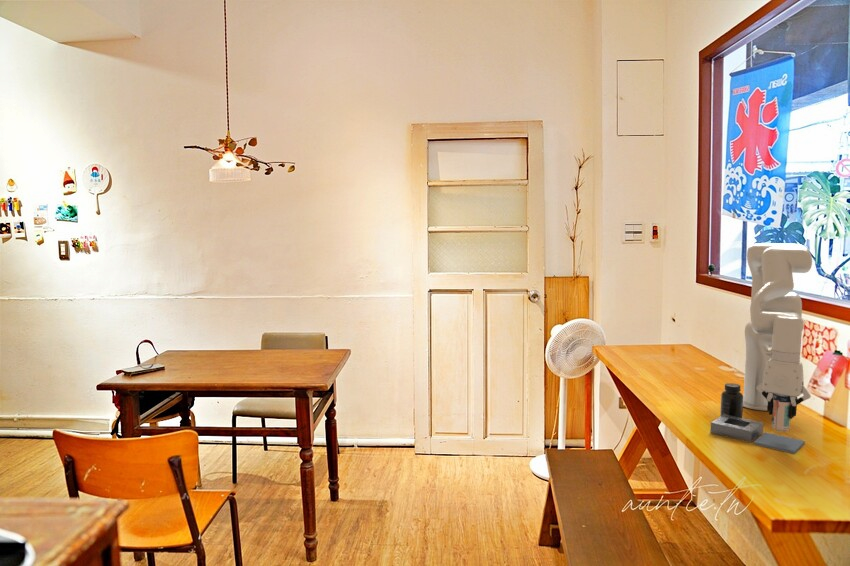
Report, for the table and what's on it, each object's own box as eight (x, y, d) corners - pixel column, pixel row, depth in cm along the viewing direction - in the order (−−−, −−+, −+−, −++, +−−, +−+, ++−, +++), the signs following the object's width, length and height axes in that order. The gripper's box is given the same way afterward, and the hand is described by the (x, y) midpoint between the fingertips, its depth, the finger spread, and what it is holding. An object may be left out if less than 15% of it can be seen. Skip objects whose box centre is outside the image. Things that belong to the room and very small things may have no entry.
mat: (765, 434, 198) (765, 432, 198) (804, 443, 190) (804, 440, 190) (753, 444, 189) (753, 441, 189) (794, 453, 182) (794, 451, 182)
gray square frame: (723, 424, 207) (723, 414, 207) (762, 433, 199) (763, 422, 199) (710, 433, 199) (710, 422, 198) (751, 442, 191) (751, 431, 190)
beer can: (773, 425, 193) (775, 387, 191) (790, 429, 190) (793, 390, 188) (769, 429, 189) (772, 390, 188) (787, 433, 186) (790, 393, 185)
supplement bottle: (730, 415, 218) (732, 381, 216) (746, 421, 211) (749, 386, 210) (715, 417, 215) (717, 383, 214) (731, 423, 209) (733, 388, 208)
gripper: (750, 354, 190) (747, 412, 192) (815, 363, 178) (810, 425, 180) (758, 350, 196) (754, 407, 197) (821, 359, 184) (816, 419, 186)
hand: (781, 415), depth 189 cm, fingers closed on beer can, 4 cm apart
